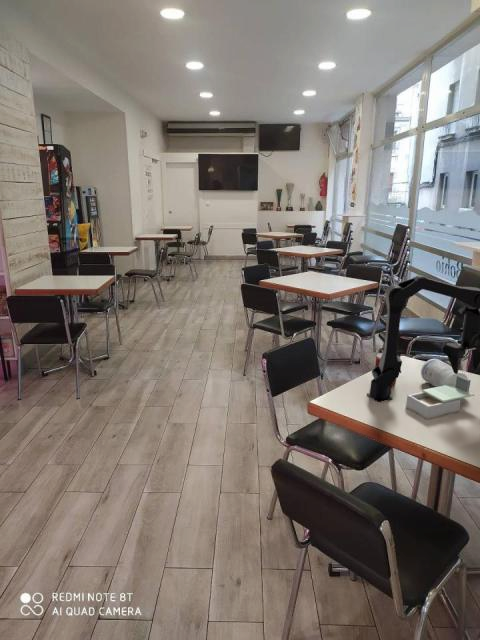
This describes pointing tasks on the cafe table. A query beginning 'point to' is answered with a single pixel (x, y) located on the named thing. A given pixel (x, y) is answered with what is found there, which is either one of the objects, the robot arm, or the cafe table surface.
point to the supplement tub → (439, 373)
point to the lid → (451, 390)
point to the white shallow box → (431, 406)
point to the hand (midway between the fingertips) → (465, 371)
